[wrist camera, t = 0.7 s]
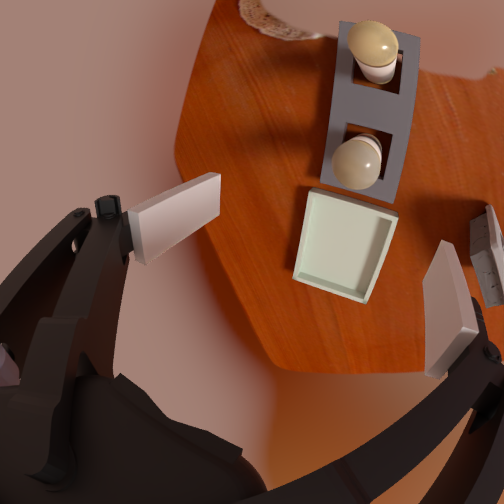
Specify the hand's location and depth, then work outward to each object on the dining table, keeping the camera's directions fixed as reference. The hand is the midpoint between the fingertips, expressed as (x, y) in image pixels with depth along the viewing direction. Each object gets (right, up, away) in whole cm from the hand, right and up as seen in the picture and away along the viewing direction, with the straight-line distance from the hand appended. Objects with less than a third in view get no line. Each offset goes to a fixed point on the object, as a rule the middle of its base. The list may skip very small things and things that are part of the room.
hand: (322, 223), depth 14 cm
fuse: (+10, +19, +8) cm, 23 cm away
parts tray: (+8, -1, +21) cm, 22 cm away
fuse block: (+10, +15, +11) cm, 21 cm away
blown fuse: (+9, +10, +14) cm, 20 cm away
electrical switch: (+26, 0, +11) cm, 28 cm away
